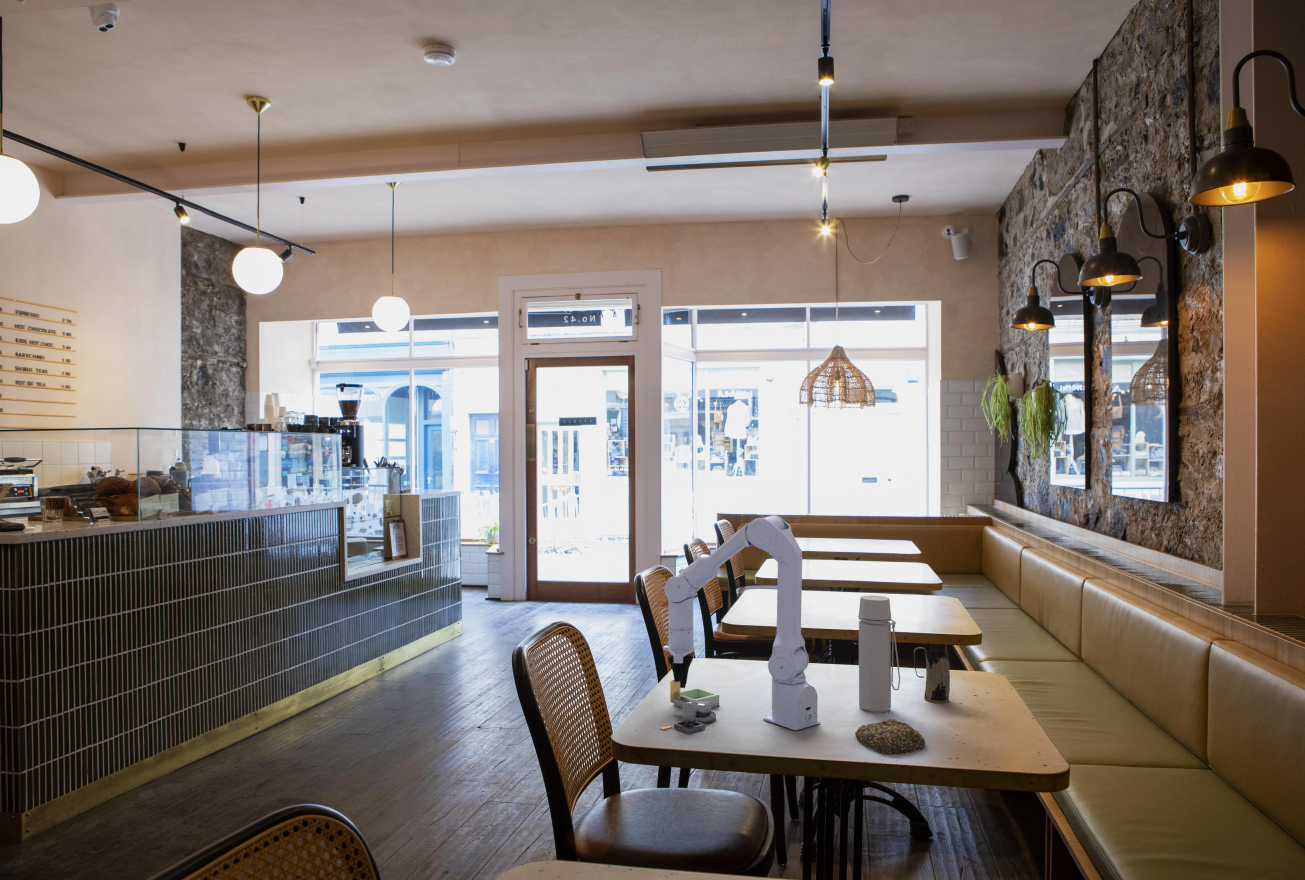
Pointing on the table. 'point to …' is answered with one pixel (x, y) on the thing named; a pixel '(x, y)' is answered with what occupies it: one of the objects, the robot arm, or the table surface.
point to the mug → (936, 676)
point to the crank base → (699, 724)
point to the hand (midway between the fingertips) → (680, 687)
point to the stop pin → (689, 714)
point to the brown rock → (890, 737)
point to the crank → (701, 706)
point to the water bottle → (875, 654)
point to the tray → (700, 696)
